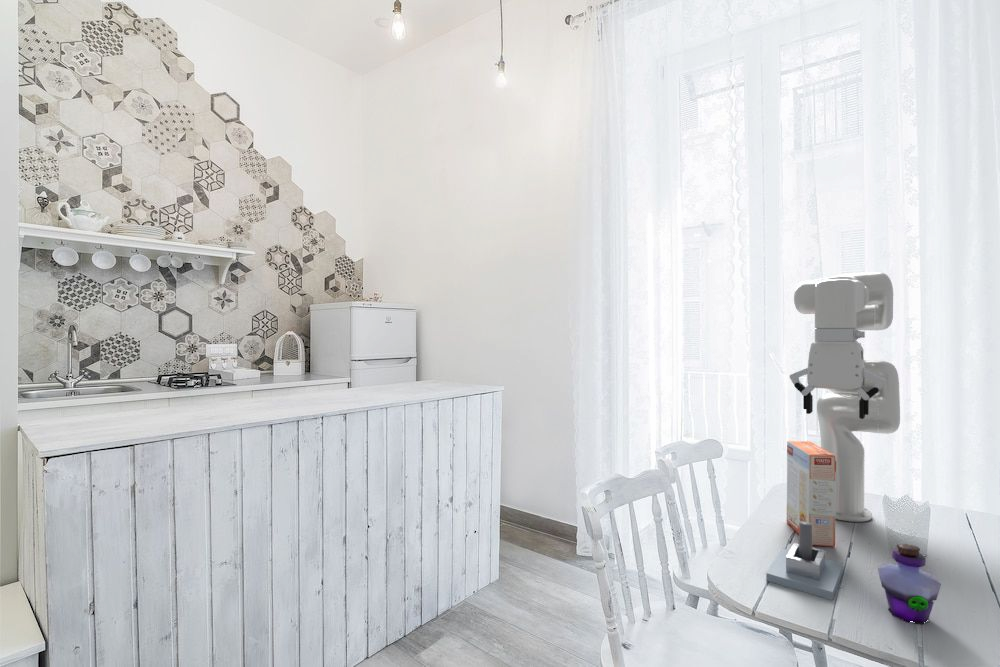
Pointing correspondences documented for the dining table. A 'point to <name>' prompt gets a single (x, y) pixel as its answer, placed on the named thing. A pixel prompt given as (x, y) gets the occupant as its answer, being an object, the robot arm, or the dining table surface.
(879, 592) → the dining table surface
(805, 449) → the cracker box
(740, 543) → the dining table surface
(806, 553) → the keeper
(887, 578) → the potion bottle
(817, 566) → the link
